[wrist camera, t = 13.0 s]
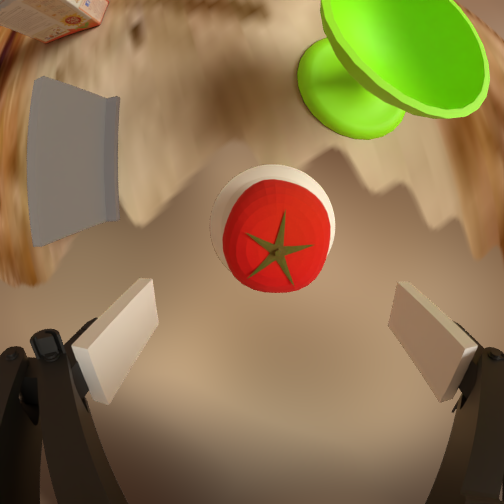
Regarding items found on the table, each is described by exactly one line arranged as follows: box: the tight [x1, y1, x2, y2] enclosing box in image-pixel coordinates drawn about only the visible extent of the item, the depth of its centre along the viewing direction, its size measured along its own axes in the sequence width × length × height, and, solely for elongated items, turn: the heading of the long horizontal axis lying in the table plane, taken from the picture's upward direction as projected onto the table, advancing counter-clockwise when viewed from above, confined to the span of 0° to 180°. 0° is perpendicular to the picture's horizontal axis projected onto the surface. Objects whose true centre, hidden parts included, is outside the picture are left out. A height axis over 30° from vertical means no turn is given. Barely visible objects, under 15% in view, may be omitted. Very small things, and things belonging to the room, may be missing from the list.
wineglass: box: [297, 0, 490, 140], centre depth 21 cm, size 16×16×18 cm
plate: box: [210, 164, 335, 272], centre depth 35 cm, size 16×16×1 cm
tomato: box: [222, 179, 331, 293], centre depth 30 cm, size 11×12×10 cm
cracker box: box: [0, 0, 109, 44], centre depth 17 cm, size 14×6×21 cm, turn 83°
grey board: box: [27, 76, 120, 247], centre depth 27 cm, size 18×5×15 cm, turn 0°
